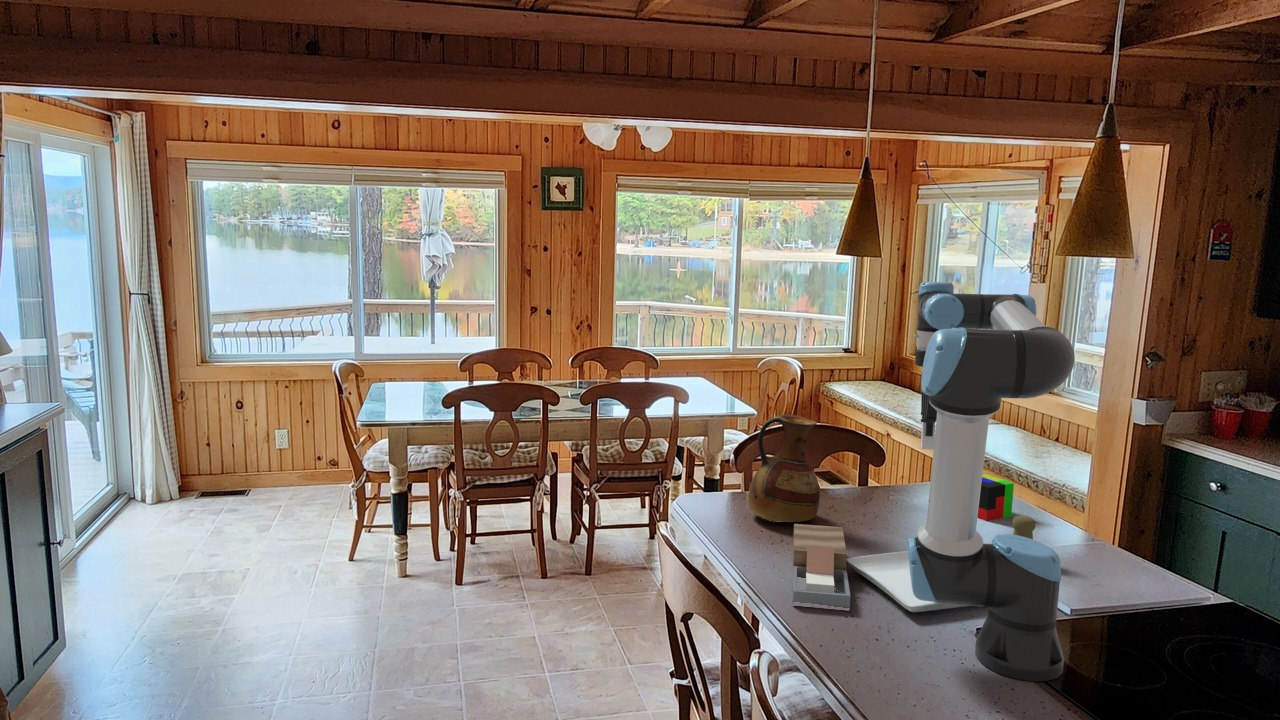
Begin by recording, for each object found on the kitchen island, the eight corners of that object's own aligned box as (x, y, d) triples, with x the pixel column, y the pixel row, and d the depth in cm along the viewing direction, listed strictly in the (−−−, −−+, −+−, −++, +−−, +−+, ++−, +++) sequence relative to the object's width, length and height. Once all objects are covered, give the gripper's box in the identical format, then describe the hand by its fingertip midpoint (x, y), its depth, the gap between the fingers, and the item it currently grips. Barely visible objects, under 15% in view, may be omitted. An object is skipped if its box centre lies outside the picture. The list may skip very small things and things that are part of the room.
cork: (1037, 565, 198) (1040, 522, 197) (1011, 563, 199) (1014, 520, 198) (1030, 555, 204) (1034, 514, 203) (1005, 554, 205) (1008, 512, 204)
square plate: (908, 623, 169) (909, 605, 168) (842, 571, 195) (843, 556, 194) (1017, 608, 176) (1019, 591, 175) (940, 560, 202) (940, 545, 201)
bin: (849, 611, 173) (850, 595, 172) (792, 606, 175) (793, 591, 175) (845, 584, 187) (846, 570, 186) (792, 580, 189) (793, 566, 188)
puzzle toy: (959, 510, 238) (961, 478, 237) (983, 506, 243) (985, 474, 241) (986, 521, 229) (988, 487, 228) (1011, 516, 234) (1013, 483, 232)
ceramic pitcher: (820, 532, 220) (824, 425, 216) (745, 527, 223) (748, 421, 219) (817, 509, 239) (821, 410, 235) (748, 505, 242) (751, 407, 238)
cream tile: (833, 574, 183) (832, 587, 183) (806, 572, 184) (805, 584, 184) (834, 585, 177) (833, 598, 177) (806, 583, 178) (806, 596, 179)
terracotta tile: (832, 575, 185) (833, 574, 183) (806, 573, 186) (806, 572, 184) (833, 549, 187) (834, 547, 185) (806, 547, 189) (807, 545, 186)
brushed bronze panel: (845, 582, 188) (846, 553, 187) (792, 578, 190) (793, 550, 189) (841, 553, 205) (842, 527, 204) (793, 550, 207) (794, 523, 206)
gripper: (911, 345, 193) (906, 441, 197) (920, 352, 180) (914, 454, 184) (944, 345, 192) (939, 442, 195) (955, 353, 179) (949, 456, 183)
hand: (927, 448), depth 190 cm, fingers closed
